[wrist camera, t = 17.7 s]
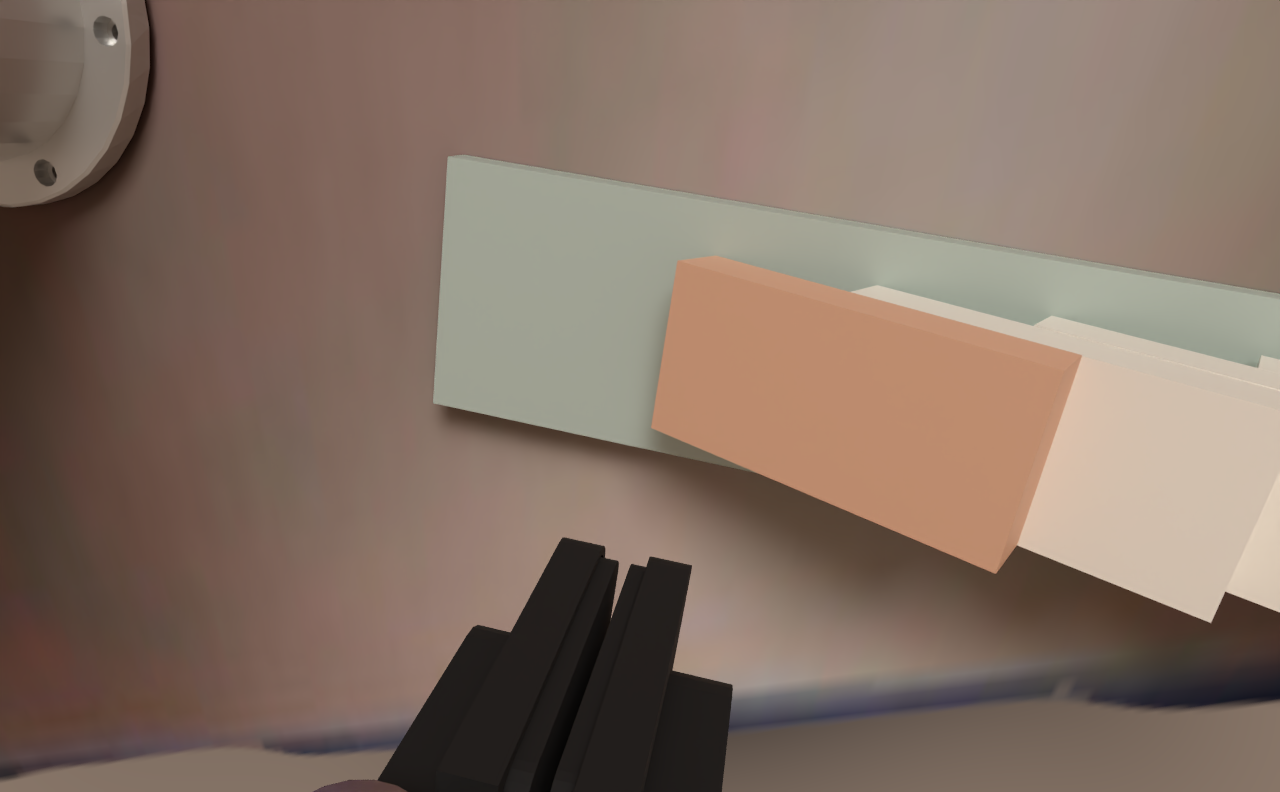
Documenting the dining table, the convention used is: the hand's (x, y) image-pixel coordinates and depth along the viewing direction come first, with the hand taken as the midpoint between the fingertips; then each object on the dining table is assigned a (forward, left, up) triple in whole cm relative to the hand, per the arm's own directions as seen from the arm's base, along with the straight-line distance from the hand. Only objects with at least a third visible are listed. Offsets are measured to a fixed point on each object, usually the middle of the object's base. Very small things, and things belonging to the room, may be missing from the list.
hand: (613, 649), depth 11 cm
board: (+4, 0, -17) cm, 17 cm away
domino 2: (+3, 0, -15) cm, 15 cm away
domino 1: (-1, 0, -15) cm, 15 cm away
